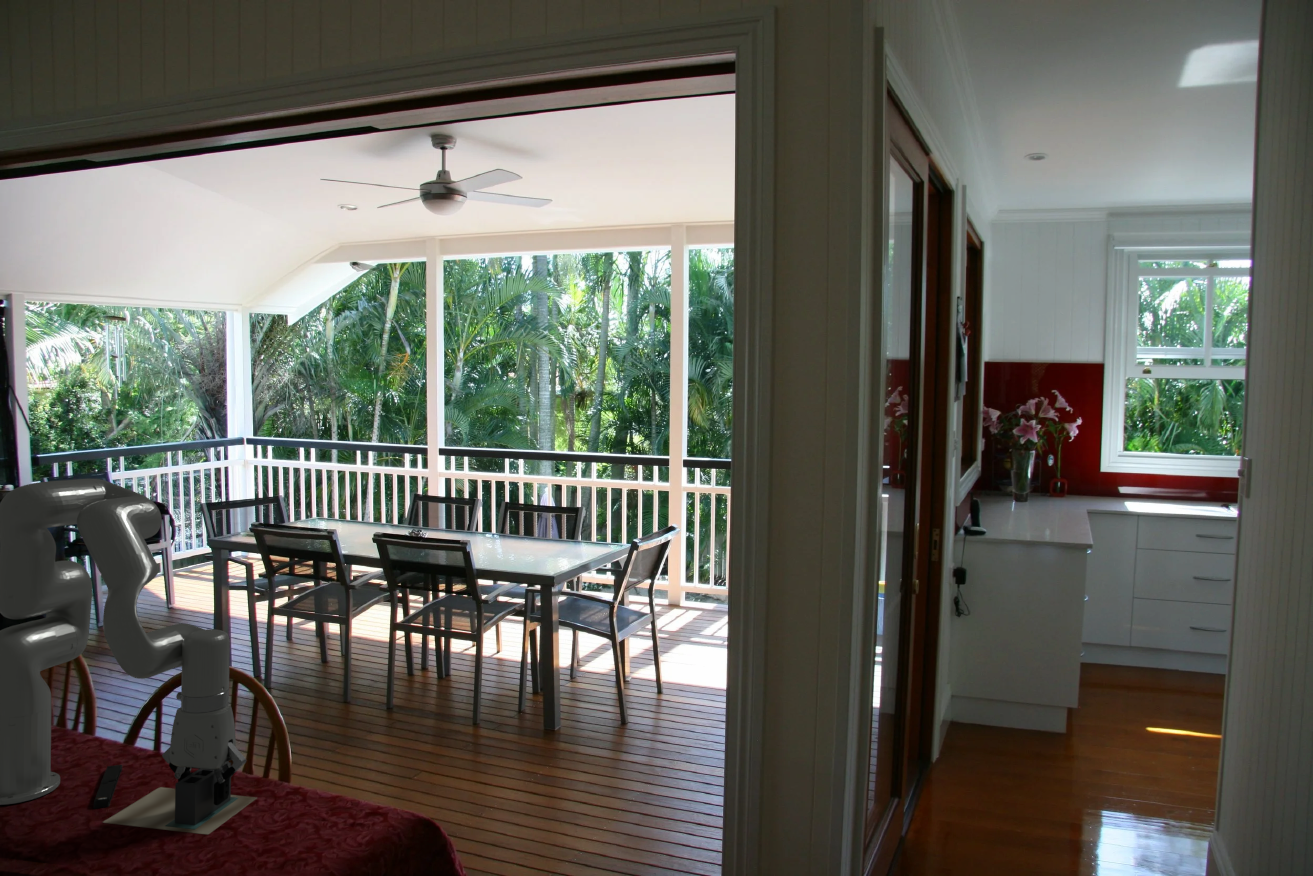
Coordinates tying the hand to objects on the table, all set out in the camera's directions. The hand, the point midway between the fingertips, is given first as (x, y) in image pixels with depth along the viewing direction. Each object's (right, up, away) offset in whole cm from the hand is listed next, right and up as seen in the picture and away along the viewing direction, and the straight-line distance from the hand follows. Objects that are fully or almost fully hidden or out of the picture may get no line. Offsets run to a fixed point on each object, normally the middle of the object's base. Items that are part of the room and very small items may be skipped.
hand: (203, 799), depth 153 cm
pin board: (-4, -4, +1) cm, 6 cm away
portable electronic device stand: (-22, -3, +8) cm, 24 cm away
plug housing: (0, -2, 0) cm, 2 cm away
